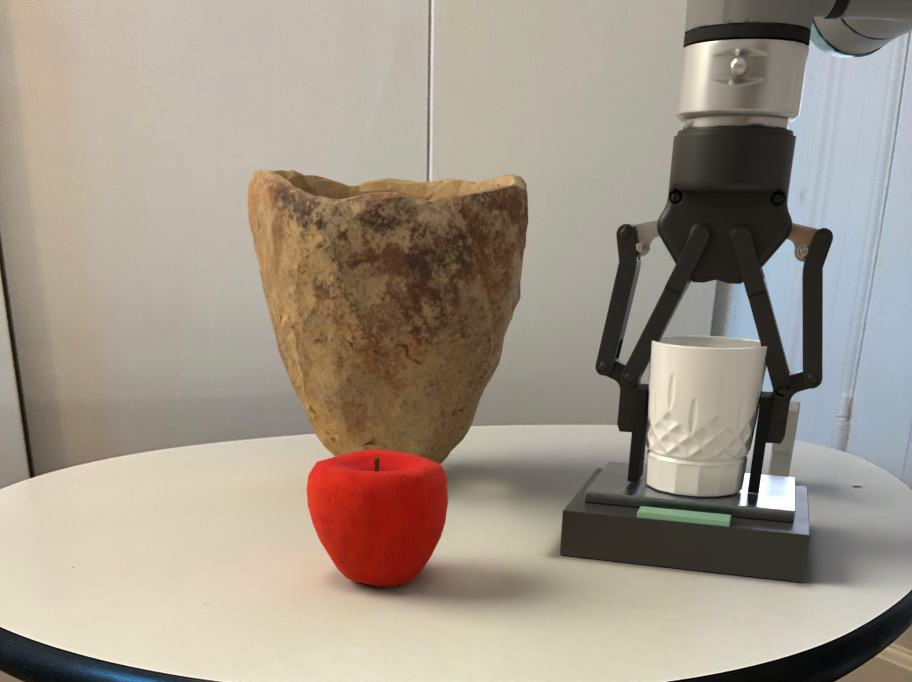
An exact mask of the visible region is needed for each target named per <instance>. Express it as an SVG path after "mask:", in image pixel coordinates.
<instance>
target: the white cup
mask: <svg viewBox="0 0 912 682" xmlns="http://www.w3.org/2000/svg"><path fill="white" fill-rule="evenodd" d="M766 351H767V346H763V347H761V343H760V340H759V339H758V340H757V339H750V338H744V337H743V338H742V337H733V336H718V335H716V336H715V335H665V336H664V335H663V336H662V338H661V340H660V342H656V341H652V346H651V356H650V362H649V364H648V365H649V366H648V367H649V368H648V369H649V370H648V383H647V384H648V387H649V389H648V400H647V406H648V415H647V436H646V447H647V451H646V452H647V453H646V454H647V457H646V465H647V472H646V481H647V485H649V486H650V487H652V488H654V489H656V490H659V491H663V492H668V493H672V494H678V495H687V496H700V497H717V496H725V495H732V494H735V493H737V492H739V491H740V490H742V487H743V482H744V476H745V473H746V469H747V464H748V455H749V454H750V450H751V448H752V446H753V440H754V436H755V435H754V434H755V430H756V429H755V428H756V426H757V420H758V413H759V406H760V398H761V394H762V391H763V388H764V383H765V377H766V371H767V365H766V362H765V356H766Z"/></svg>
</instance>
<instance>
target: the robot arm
mask: <svg viewBox="0 0 912 682" xmlns="http://www.w3.org/2000/svg"><path fill="white" fill-rule="evenodd" d="M684 22H685V23H684V35H683V46H682V47H683V48H682V53H681V60H680V61H681V63H680V70H679V71H680V73H679V81H678V93H677V99H676V100H677V101H676V109H675V117H676V118H677V119H678V121H680V122H682V123H684V126H683V127H682V129H680V130H677V134H676V135H674V136H673V142H672V152H671V161H670V173H669V182H668V192H667V200H666V204H665V206H664V208H663V210H662V211H661V213H660V214H659V216H658V218H657V220H653V221H647V222H642V223H636V224H634V223H623V224H621V225H620V226H618V228H617V230H616V233H615V235H616V237H615V238H616V247H617V255H618V265H617V269H616V270H617V271H616V274H615V278H614V282H613V287H612V290H611V296H610V300H609V304H608V308H607V314H606V318H605V322H604V326H603V330H602V335H601V340H600V344H599V348H598V352H597V357H596V361H595V367H594V368H595V370H596V373H597V374H598V375H600V376H604V377H607V378H609V379H611V380H614V381H615V382H616V383H617V384H618V387H619V399H618V411H617V422H616V423H617V424H616V425H617V428H618V431H619V432H622V433H631V438H630V448H629V449H630V450H629V459H628V463H629V468H628V479H627V481H630V482H638V481H639V479H640V478H641V476H642V475H643V466H644V464H645V455H646V447H647V445H646V438H647V415H648V406H647V400H648V389H649V387H648V384H649V383H642V378H643V376H644V373H645V371H646V369H647V367H648V365H649V364H650V356H651V346H652V341H656V342H660V340H661V338H662V337H663V336H664V334H665V333H666V331H667V329H668V327H669V325H670V323H671V321H672V319H673V317H674V315H675V313H676V311H677V309H678V307H679V306H680V303H681V301H682V299H683V297H684V296H685V294H686V292H687V290H688V289H689V288H690V287H689V286H690V285H691V283H698V284H699V283H701V284H703V283H708V282H713V281H720V282H723V283H724V284H725V283H726V284H728V285H729V284H730V285H741V284H743V286H744V289H745V293H746V297H747V299H748V303H749V306H750V311H751V314H752V318H753V321H754V325H755V329H756V333H757V336H758V341H760V343H761V347H763V346H767V351H766V356H765V362H766V365H767V366H766V370H767V372H768V377H769V379H770V383H771V387H772V391H765V390H764V391H763V390H762V394H761V398H760V405H759V411H758V416H757V421H756V426H755V428H756V429H755V433H754V434H755V435H754V441H753V449H752V457H751V463H750V472H749V473H750V478H749V485H748V492H751V493H759V488H760V481H761V475H763V468H764V467H763V466H764V459H765V453H766V445H767V444H772V443H776V444H781V442H782V441H783V439H784V437H785V432H786V425H787V418H788V412H789V405H790V401H792V398H793V397H794V395H795V394H798V393H800V392H803V391H806V390H810V389H812V390H813V389H816V388H819V387H820V386H821V384H822V383H823V354H824V353H823V350H824V349H823V345H824V344H823V328H824V327H823V326H824V325H823V324H824V323H823V322H824V321H823V317H824V315H823V313H824V312H823V311H824V308H823V307H824V305H823V303H824V301H823V300H824V298H823V297H824V296H823V295H824V294H823V293H824V291H823V289H824V282H823V281H824V271H823V270H824V266H825V263H826V260H827V257H828V254H829V253H830V250H831V246H832V243H833V240H834V235H833V234H834V233H833V231H832V230H831V229H829V228H827V227H820V228H815V227H811V226H807V225H803V224H799V223H794V222H793V219H792V216H791V214H790V211H789V210H790V209H789V206H788V204H789V203H788V202H789V196H790V187H791V180H792V174H793V166H794V159H795V151H796V144H797V136H796V135H794V134H795V132H794V130H792V129H789V122H795V120H796V119H798V118H799V117H800V116H801V109H802V102H803V95H804V88H805V81H806V74H807V66H808V60H809V59H808V58H809V51H810V47H809V46H810V43H812V44H813V45H814V46H815V47H816V48H817V49H818V50H819V51H821V52H822V53H824V54H826V55H828V56H830V57H834V58H839V59H840V58H841V59H851V58H863V57H867V56H870V55H872V54H874V53H876V52H877V51H880V50H881V49H882V48H883V47H885V46H886V45H888V44H889V43H890V42H892V41H894V40H895V39H898V38H899V37H901V36H903V35H906V34H909V33H910V32H911V31H912V0H686V11H685V21H684ZM658 237H660V239H661V241H662V243H663V245H664V247H665V248H666V250H667V252H668V253H669V255H670V257H671V259H672V260H673V262H674V264H675V266H674V268H673V269H672V271H671V273H670V275H669V277H668V279H667V281H666V283H665V286H664V288H663V290H662V292H661V294H660V297H659V298H658V300H657V302H656V304H655V307H654V308H653V310H652V312H651V314H650V316H649V318H648V320H647V323H646V324H645V326H644V328H643V330H642V332H641V334H640V336H639V338H638V339H637V342H636V344H635V346H634V348H633V350H632V352H631V354H630V355H629V358H628V359H627V361H625V360H623V359H620V356H621V352H622V348H623V344H624V340H625V335H626V331H627V326H628V323H629V320H630V319H629V318H630V314H631V310H632V306H633V302H634V297H635V293H636V288H637V285H638V281H639V276H640V273H641V272H640V271H641V266H642V258H643V257H645V256H648V255H649V254H650V252H651V250H652V247H653V246H652V245H653V242H654V241H655V240H656V239H657V238H658ZM787 240H788V241H790V242H792V244H793V245H794V252H793V253H794V254H793V255H794V257H795V259H796V260H797V261H800V262H802V263H803V266H802V275H801V277H802V279H801V280H802V282H801V283H802V287H801V289H802V296H801V297H802V299H801V300H802V307H801V308H802V310H801V311H802V312H801V313H802V316H801V317H802V319H801V321H802V368H801V369H797V370H794V371H790V367H789V364H788V363H789V362H788V360H787V357H786V353H785V348H784V345H783V341H782V337H781V334H780V329H779V326H778V323H777V319H776V318H777V317H776V314H775V311H774V307H773V303H772V300H771V296H770V292H769V288H768V284H767V280H766V276H765V273H764V272H765V271H764V269H763V268H764V266H765V265H766V264H767V263H768V262H769V260H770V259H771V258H772V257H773V256H774V254H775V253H776V252H778V250H779V249H780V248H781V247H782V245H783V244H784V243H785V242H786V241H787Z"/></svg>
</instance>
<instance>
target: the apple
mask: <svg viewBox="0 0 912 682" xmlns="http://www.w3.org/2000/svg"><path fill="white" fill-rule="evenodd" d="M448 491H449V489H448V475H447V473H446V472H445V470H444V467H443V465H442V463H441V464H439V463H436V462H433V461H431V460H428V459H426V458H424V457H421V456H417V455H413V454H409V453H404V452H398V451H393V450H375V449H370V450H363V451H356V452H352V453H348V454H343V455H339V456H336V457H335V456H333V457H328V458H325V459H320V460H317V461H316V462H315V464H314V465H313V467H312V468H311V470H310V471H309V473H308V475H307V482H306V500H307V501H306V502H307V509H308V511H309V516H310V519H311V522H312V525H313V528H314V530H315V534H316V535H317V537H318V539H319V542H320V543H321V545H322V547H323V549H324V550H325V551H326V553H327V554H328V556H329V557H330V560H331V561H332V563H333V565H334V566H335V568H336V569H337V570H338V571H339V572H340V573H341V574H342V575H343V576H344V577H345V578H346V579H348V580H350V581H352V582H356V583H360V584H365V585H370V586H374V587H379V588H389V587H399V586H402V585H404V584H407V583H410V582H412V581H414V580H415V579H416V578H417V577H418V576H420V574H421V573H422V572H423V570H424V568H425V567H426V565H427V563H428V562H429V560H430V559H431V557H432V556H433V553H434V551H435V550H436V547H437V546H438V543H439V542H440V540H441V538H442V534H443V532H444V528H445V524H446V520H447V514H448V513H447V512H448V505H449V493H448Z"/></svg>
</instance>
